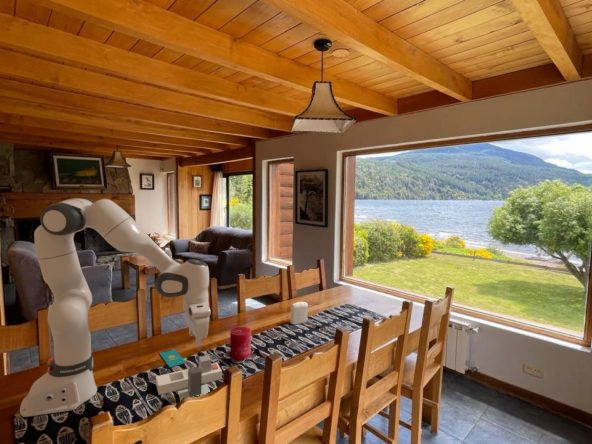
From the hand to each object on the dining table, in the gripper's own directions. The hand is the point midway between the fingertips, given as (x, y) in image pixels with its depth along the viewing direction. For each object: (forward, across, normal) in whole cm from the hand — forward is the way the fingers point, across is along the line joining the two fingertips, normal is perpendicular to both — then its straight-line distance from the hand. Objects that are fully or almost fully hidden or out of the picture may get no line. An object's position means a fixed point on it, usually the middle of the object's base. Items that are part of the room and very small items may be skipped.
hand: (194, 340), depth 125 cm
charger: (+21, 0, 0) cm, 21 cm away
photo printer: (+20, -41, +70) cm, 83 cm away
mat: (+21, 0, 0) cm, 21 cm away
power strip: (+21, -8, 0) cm, 23 cm away
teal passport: (+22, -30, -2) cm, 37 cm away
